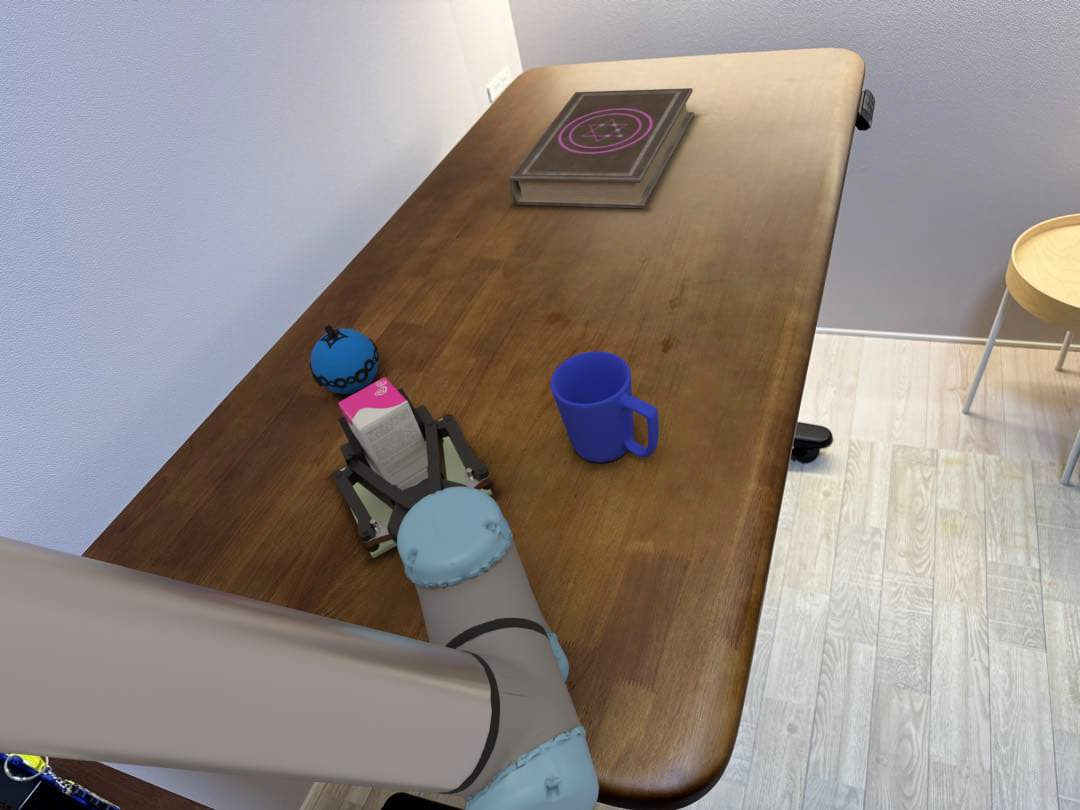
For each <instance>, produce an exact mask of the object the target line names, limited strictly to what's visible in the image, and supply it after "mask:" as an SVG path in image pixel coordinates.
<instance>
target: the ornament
mask: <svg viewBox="0 0 1080 810" xmlns="http://www.w3.org/2000/svg"><path fill="white" fill-rule="evenodd" d="M324 330H325V334H323V335H322V336H321V337H320V338H319V339H318V340H317V341H316V343H315V345H314V347H313V349H312V351H311V355H310V363H309V368H310V372H311V375H312V378H313V379H314V381H315V383H316V384H317V386H319V387H323V388H324V389H326V390H328V391H330V392H332V393H333V394H334V393H335V394H339V395H350V394H351V395H352V394H355V393H357V392H359V391H361V390H362V389H364V388H366V387H368V386H369V385H371V384H372V382H373V380H374V379H375V377H376V375H377V372H378V369H379V361H380V355H379V352H378V347H377V345H376V343H375V342H374V341H373V340H372V339H371V338H370V337H369V338H368V336H367V335H365V334H364V333H362V332H361V331H359V330H355V329H352V328H336V329H334V328H333V326H331V324H327V325H325V326H324Z"/></svg>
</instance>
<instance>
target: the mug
mask: <svg viewBox="0 0 1080 810" xmlns="http://www.w3.org/2000/svg"><path fill="white" fill-rule="evenodd" d="M632 388H633V387H632V373H631V368H630V366H629V365H628V363H627V362H626V361H625V360H624V359H623V358H621V356H619V355H617V354H615V353H612V352H609V351H608V352H607V351H601V350H599V351H597V350H596V351H595V350H593V351H586V352H582V353H578V354H575V355H573V356H571V357H568V358H567V359H566V360H564V361H563V362H562V363H560V364H559V365H558V366H557V368H556V369H555V370H554V371H553V373H552V375H551V378H550V390H551V393H552V395H553V398H554V401H555V405H556V406H557V409H558V412H559V414H560V417H561V420H562V422H563V426H564V428H565V431H566V433H567V436H568V438H569V441H570V445H571V446H572V449H573V450H574V451H575V452H576V453H577V454H578V455H579V456H580V457H581V458H583V459H584V460H586V461H588V462H592V463H597V464H598V463H610V462H612V461H615V460H617V459H619V458H621V457H622V456H623V455H625V454H626V453H627V452H628V451H629V452H630V453H632V454H634V456H637V457H639V458H643V459H644V458H649V457H650V456H651V455H652V454H653V453H654V452H655V451H656V449H657V447H658V444H659V443H658V442H659V435H660V434H659V431H660V429H659V426H660V425H659V422H660V421H659V411H658V408H657V407H656V406H654V405H652V404H650V403H648V402H646V401H645V400H642V399H641V398H638V397H636V396H634V395H633V389H632ZM634 412H635V413H636V414H639V415H640V416H642V417H644V419H646V424H647V446H643V445H641V444H640V443H638V442H637V441H636V440H635V439H634V437H635V425H634V423H635V422H634Z"/></svg>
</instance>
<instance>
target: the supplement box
mask: <svg viewBox="0 0 1080 810" xmlns="http://www.w3.org/2000/svg"><path fill="white" fill-rule="evenodd" d="M398 390H399V389H397V388H396V387H395V386H394V384H393V383H392V382H391V381H389V379H388V378H387V377H386V376H383V377H381V378H380V379H378V380H376V381H374V382H373V383H370V384H369V385H368V386H367V387H365V388H364V389H362V390H361V391H358V392H356V393H352V394H351V395H350V396H348V397H346V398H344V399H342V400H340V401H338V406H339V409H340V410H341V412H342V414H343V417H344V416H345V418H346V420H347V422H348V424H349V426H350V428H351V430H352V432H353V434H354V436H355V438H356V440H357V442H358V444H359V445H360V447H361V449H362V451H363V453H364V455H365V457H366V459H367V461H368V463H369V465H370V467H371V469H372V470H373V471H374V472H376V473H377V474H378V475H380V476H381V477H382V478H384V479H385V480H386V481H388V482H389V483H390V484H392V485H393V484H394V485H396V486H397V487H398V488H400V489H401V490H402V491H403V490H405V489H406V488H409V487H412V486H415V485H417V484H418V483H419V482H421V481H422V480H424V479H426V478H427V477H428V473H427V467H428V458H427V447H426V443H425V440H424V438H423V435H422V433H421V431H420V429H419V426H418V424H417V422H416V419H415V417H414V415H413V412H412V410H411V408H410V405H409V403H408V401H407V400H406V399H405V398H404V397H403V396H402V395H401V394H400V392H399V391H398Z"/></svg>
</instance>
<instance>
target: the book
mask: <svg viewBox="0 0 1080 810" xmlns="http://www.w3.org/2000/svg"><path fill="white" fill-rule="evenodd" d="M693 90H694V89H693V87H687V88H686V87H684V88H683V87H681V88H658V89H655V88H653V89H629V90H628V89H625V90H598V91H597V90H596V91H575V92H574V93H573V94H572V96H571V97H570V99H569V100H568V101H567V102H566V103H565V105H564V106H563V107H562V108H561V110H560V111H559V112H558V114H557V115H556V116H555V118H554V119H553V120H552V121H551V123H550V124H549V125H548V127H546V129H545V131H544V132H543V133H542V134H541V136H539V139H538V140H537V141H536V142H535V144H534V145H533V146H532V147H531V149H530V150H529V151H528V153H527V154H526V155H525V156H524V158H523V159H522V160H521V161H520V163H519V164H518V166H517V167H516V168H515V169H514V171H513V172H512V173H511V175H510V176H509V178H508V186H509V192H510V196H511V198H512V199H513V201H514V203H515V205H518V206H545V207H546V206H549V207H551V206H553V207H582V208H585V207H586V208H614V209H615V208H616V209H645V207H646V205H647V204H648V201H649V200H650V198H651V196H652V194H653V193H654V190H655V188H656V187H657V185H658V183H659V181H660V179H661V178H662V175H663V173H664V172H665V171H666V168H667V166H668V165H669V163H670V161H671V159H672V157H673V155H674V153H675V151H676V150H677V147H678V146H679V144H680V142H681V141H682V139H683V137H684V136H685V133H686V131H687V130H688V128H689V126H690V124H691V123H692V121H693V118H694V117H695V112H694V111H688V108H687V103H688V100H689V99H690V97H691V95H692V93H693V92H694V91H693Z"/></svg>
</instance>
